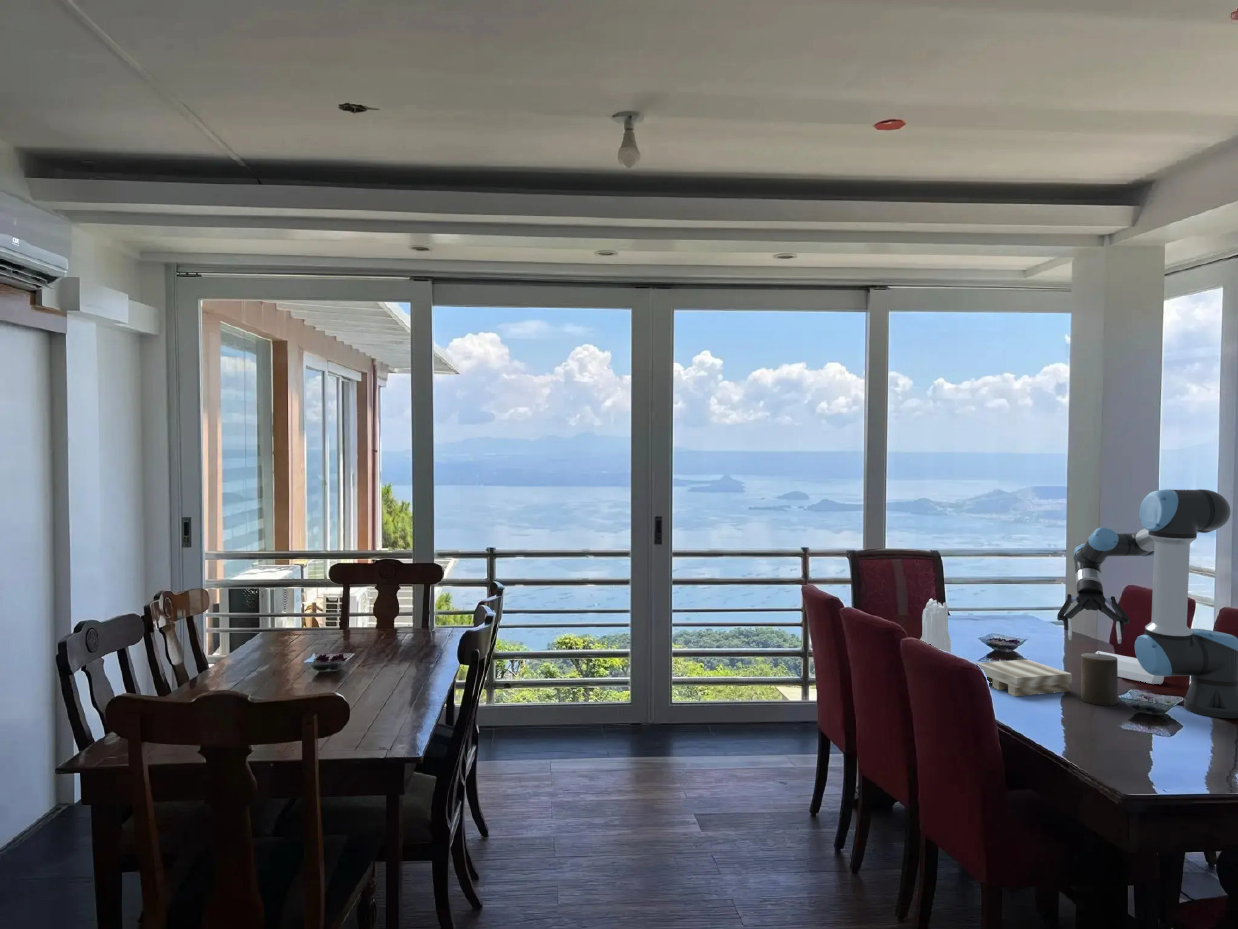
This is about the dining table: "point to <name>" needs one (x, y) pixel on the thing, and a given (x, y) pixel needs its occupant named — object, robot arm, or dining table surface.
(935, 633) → the decorative vase
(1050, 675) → the plate
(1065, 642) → the dining table surface
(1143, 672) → the white octagonal bar
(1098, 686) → the pillar candle
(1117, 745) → the dining table surface
